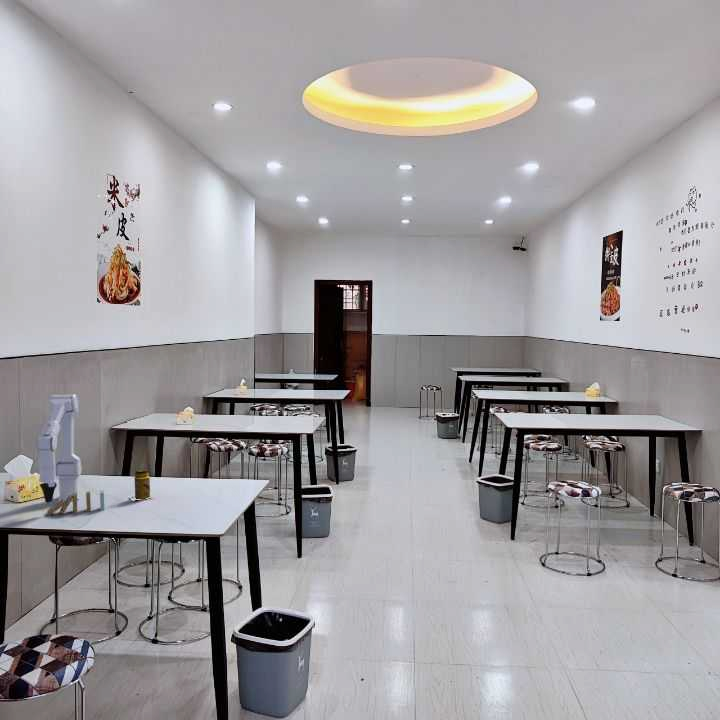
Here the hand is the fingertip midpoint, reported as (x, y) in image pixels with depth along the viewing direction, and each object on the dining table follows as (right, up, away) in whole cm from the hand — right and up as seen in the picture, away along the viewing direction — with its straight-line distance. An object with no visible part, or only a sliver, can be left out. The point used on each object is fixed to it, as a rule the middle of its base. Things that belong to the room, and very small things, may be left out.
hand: (48, 501), depth 273 cm
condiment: (+28, -3, +22) cm, 36 cm away
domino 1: (0, -4, 0) cm, 4 cm away
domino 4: (+13, -4, +5) cm, 15 cm away
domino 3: (+9, -5, +3) cm, 10 cm away
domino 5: (+18, -4, +7) cm, 20 cm away
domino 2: (+4, -4, +2) cm, 6 cm away
